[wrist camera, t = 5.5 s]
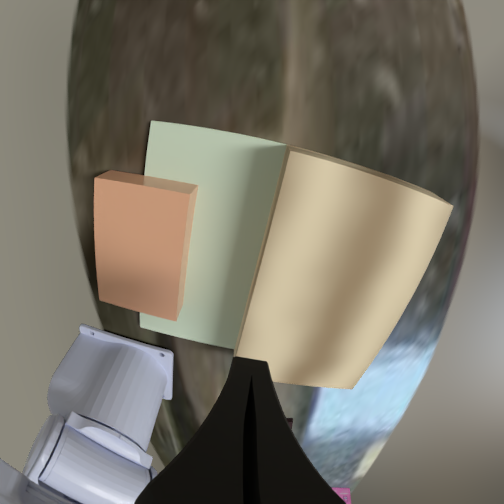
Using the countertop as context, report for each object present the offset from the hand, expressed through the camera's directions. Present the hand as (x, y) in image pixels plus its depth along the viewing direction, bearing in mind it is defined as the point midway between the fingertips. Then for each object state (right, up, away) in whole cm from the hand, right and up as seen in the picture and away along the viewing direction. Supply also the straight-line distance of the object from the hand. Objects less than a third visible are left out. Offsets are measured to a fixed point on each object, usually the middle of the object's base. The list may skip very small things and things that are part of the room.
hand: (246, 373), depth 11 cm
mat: (-3, +5, +8) cm, 10 cm away
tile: (-7, +5, +6) cm, 10 cm away
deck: (+5, +3, +8) cm, 10 cm away
